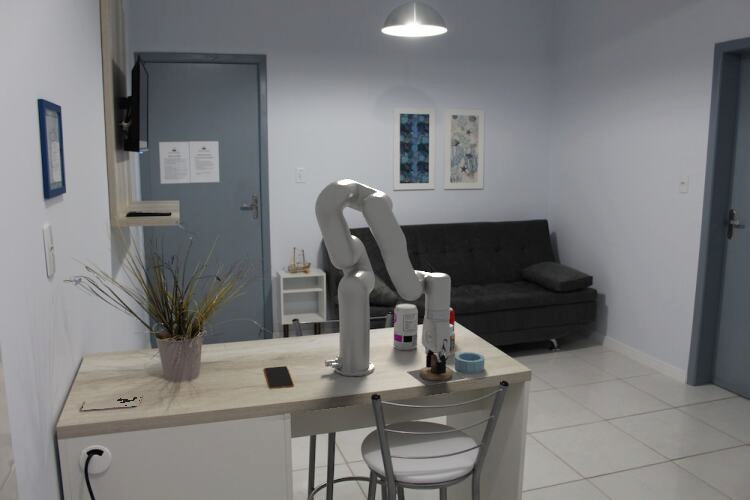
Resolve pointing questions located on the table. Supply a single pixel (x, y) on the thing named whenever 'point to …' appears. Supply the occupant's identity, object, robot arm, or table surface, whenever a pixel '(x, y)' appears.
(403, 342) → the supplement can
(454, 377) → the mat
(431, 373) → the lid
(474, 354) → the bowl
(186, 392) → the table surface
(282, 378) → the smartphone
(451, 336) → the pill bottle
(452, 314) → the beverage can
